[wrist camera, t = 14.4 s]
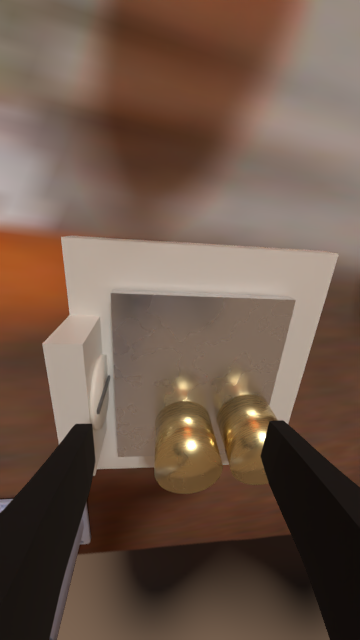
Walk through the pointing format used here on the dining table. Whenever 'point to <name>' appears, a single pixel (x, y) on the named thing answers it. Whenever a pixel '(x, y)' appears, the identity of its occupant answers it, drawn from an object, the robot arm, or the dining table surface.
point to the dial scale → (167, 275)
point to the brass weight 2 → (245, 436)
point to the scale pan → (191, 355)
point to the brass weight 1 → (185, 449)
